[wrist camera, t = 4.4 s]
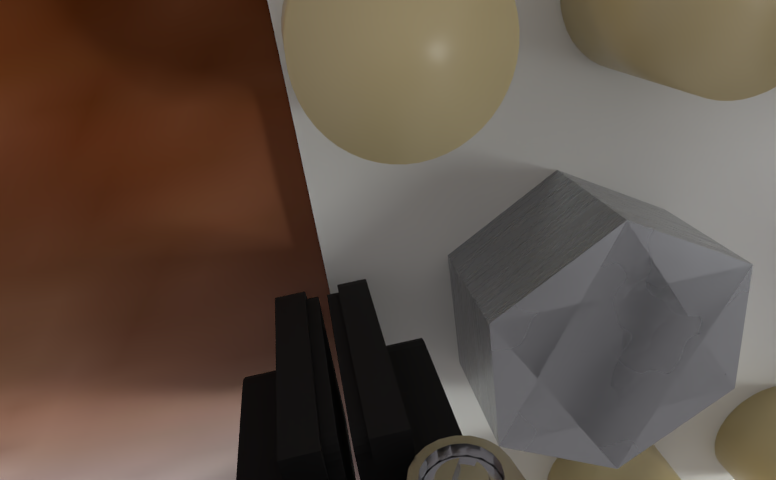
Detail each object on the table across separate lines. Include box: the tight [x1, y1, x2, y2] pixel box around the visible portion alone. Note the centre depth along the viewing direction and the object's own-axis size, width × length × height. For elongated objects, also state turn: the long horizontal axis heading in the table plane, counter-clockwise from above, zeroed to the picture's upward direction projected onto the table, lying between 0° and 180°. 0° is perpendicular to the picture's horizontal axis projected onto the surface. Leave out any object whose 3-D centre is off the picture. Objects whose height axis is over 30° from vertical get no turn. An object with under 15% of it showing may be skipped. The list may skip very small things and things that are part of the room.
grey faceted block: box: [448, 170, 753, 469], centre depth 11 cm, size 4×5×2 cm
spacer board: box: [267, 0, 776, 480], centre depth 11 cm, size 17×14×3 cm
